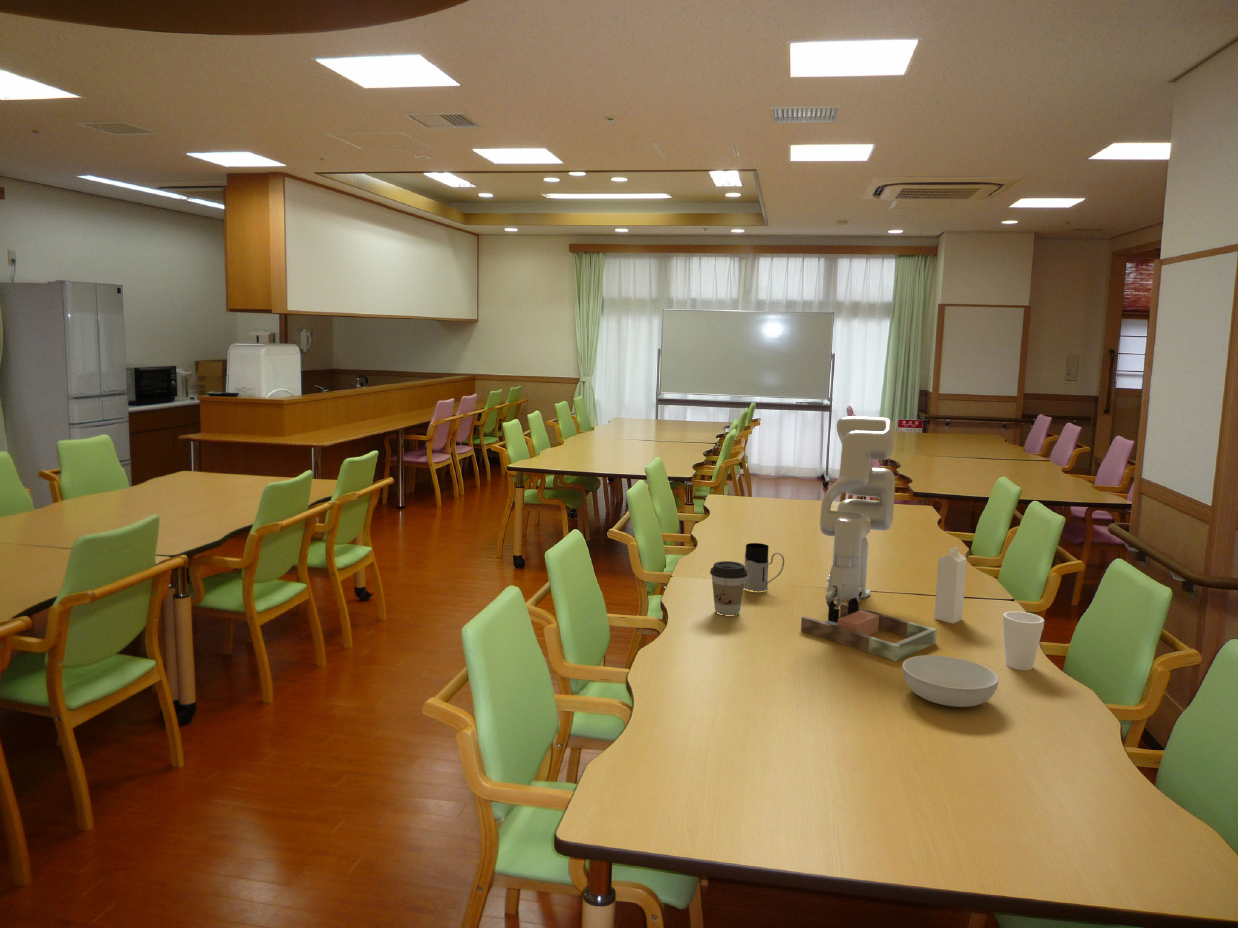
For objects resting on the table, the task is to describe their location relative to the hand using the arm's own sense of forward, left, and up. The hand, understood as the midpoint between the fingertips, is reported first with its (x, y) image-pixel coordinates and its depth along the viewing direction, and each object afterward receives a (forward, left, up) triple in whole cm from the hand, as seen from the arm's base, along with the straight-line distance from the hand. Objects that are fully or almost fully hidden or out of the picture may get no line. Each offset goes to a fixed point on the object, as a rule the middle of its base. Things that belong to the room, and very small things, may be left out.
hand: (843, 617), depth 239 cm
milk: (+15, +33, -4) cm, 36 cm away
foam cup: (+45, +12, -4) cm, 47 cm away
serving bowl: (+43, -22, -4) cm, 48 cm away
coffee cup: (-31, -15, -4) cm, 35 cm away
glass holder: (-39, +12, -4) cm, 41 cm away
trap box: (+8, 0, -3) cm, 9 cm away
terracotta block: (+5, 0, -4) cm, 6 cm away
